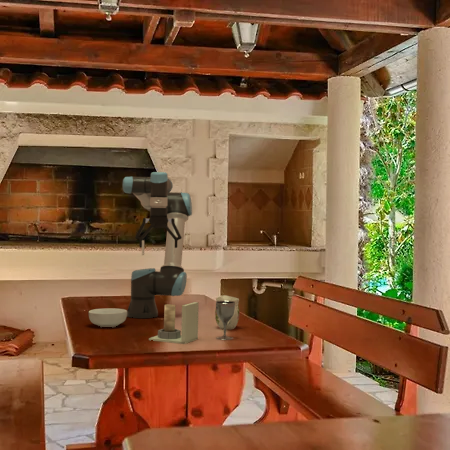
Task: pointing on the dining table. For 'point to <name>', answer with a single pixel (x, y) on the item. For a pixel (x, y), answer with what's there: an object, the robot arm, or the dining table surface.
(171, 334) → the bracket
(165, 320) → the beige mottled cylinder
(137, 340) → the dining table surface
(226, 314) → the wine glass
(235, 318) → the pitcher
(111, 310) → the cereal bowl
